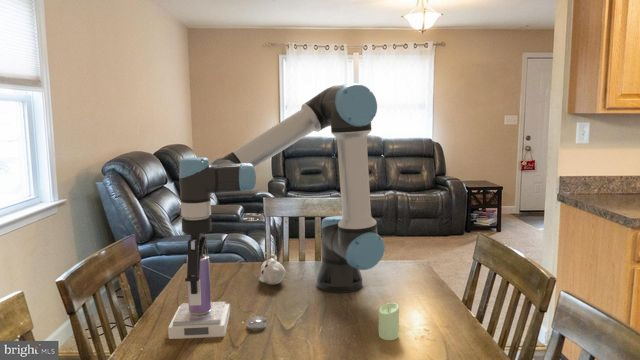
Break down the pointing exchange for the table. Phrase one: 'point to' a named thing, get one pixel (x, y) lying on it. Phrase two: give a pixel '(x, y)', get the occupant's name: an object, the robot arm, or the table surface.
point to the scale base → (200, 328)
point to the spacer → (256, 323)
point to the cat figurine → (272, 271)
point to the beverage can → (203, 288)
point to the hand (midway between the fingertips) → (199, 295)
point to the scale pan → (190, 319)
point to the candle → (389, 321)
